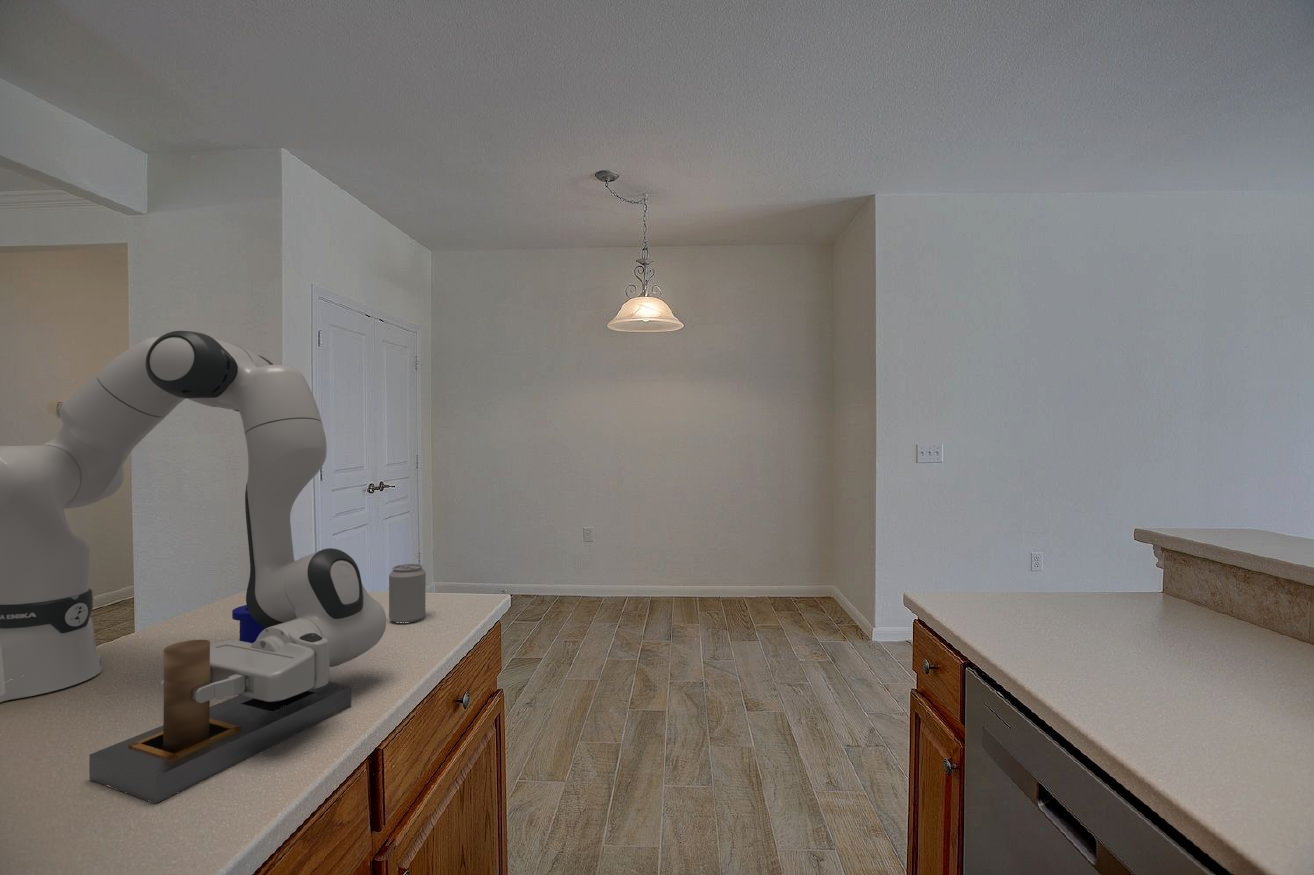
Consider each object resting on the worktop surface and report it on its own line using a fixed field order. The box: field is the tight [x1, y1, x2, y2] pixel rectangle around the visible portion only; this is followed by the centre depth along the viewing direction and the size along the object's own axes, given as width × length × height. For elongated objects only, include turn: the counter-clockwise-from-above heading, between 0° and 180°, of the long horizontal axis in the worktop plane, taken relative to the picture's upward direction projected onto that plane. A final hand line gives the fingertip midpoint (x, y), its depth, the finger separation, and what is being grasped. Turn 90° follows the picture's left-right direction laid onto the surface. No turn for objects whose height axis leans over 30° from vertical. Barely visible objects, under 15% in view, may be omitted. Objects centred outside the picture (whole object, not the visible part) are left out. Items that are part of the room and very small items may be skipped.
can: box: [388, 563, 427, 623], centre depth 131 cm, size 8×8×12 cm
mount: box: [231, 604, 266, 643], centre depth 111 cm, size 15×8×9 cm, turn 169°
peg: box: [162, 639, 211, 754], centre depth 74 cm, size 4×4×13 cm
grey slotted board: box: [88, 681, 352, 805], centre depth 79 cm, size 12×26×3 cm, turn 159°
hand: (179, 692), depth 73 cm, fingers open, 4 cm apart
